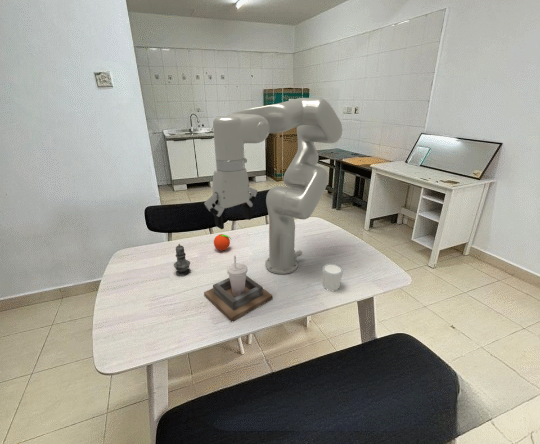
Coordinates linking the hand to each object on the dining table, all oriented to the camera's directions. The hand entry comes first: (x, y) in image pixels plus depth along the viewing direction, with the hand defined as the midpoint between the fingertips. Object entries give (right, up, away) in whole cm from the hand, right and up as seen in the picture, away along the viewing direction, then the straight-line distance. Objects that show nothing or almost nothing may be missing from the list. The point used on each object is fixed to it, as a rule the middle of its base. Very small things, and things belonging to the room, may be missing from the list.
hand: (234, 222), depth 85 cm
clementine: (-10, -12, +40) cm, 43 cm away
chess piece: (-22, -19, +24) cm, 37 cm away
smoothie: (0, -23, +9) cm, 25 cm away
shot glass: (+32, -22, +16) cm, 42 cm away
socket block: (0, -25, +10) cm, 26 cm away
